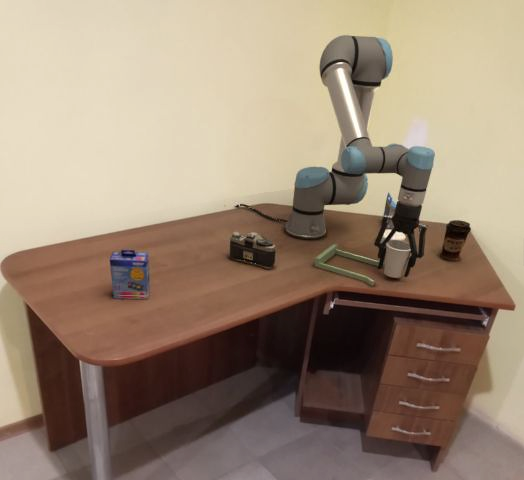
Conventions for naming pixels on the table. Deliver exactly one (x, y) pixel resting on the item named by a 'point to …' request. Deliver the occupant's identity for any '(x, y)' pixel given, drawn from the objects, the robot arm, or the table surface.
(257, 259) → the camera
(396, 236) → the coaster
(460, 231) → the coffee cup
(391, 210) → the label tape box
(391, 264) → the dixie cup
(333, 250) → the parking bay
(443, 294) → the table surface
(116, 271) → the ink cartridge box
